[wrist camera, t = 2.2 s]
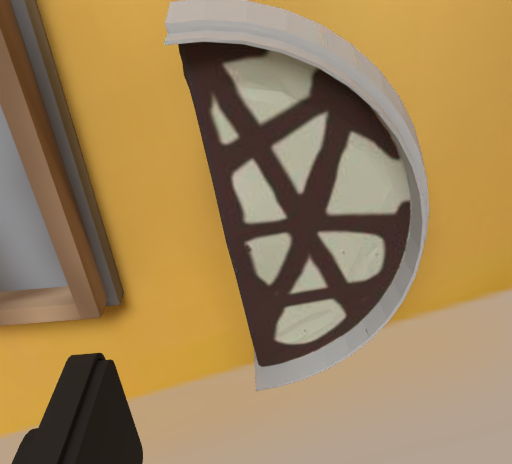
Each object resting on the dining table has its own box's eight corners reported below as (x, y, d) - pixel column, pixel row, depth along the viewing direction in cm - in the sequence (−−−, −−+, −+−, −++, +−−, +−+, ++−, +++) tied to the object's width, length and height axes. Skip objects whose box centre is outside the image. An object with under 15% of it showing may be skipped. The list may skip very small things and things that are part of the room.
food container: (375, 222, 25) (442, 377, 16) (255, 241, 25) (258, 401, 17) (359, -59, 18) (458, -46, 10) (198, -26, 19) (156, 15, 10)
